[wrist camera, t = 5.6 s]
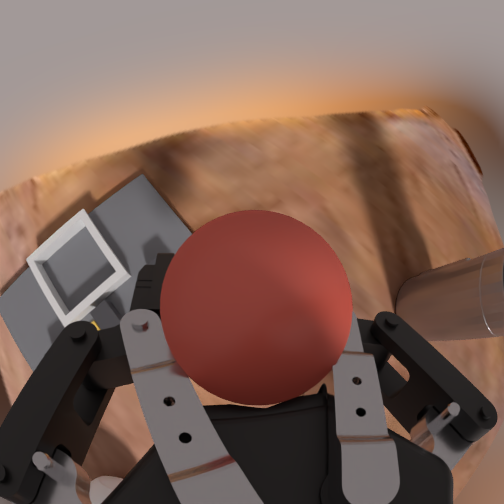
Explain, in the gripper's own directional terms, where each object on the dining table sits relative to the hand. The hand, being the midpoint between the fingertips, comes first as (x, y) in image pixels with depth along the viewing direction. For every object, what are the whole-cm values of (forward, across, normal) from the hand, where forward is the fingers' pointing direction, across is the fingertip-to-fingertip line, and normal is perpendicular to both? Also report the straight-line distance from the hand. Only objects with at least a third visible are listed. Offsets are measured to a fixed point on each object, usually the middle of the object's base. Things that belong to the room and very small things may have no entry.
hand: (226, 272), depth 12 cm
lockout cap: (+2, 0, +4) cm, 5 cm away
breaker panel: (+14, +12, +12) cm, 22 cm away
